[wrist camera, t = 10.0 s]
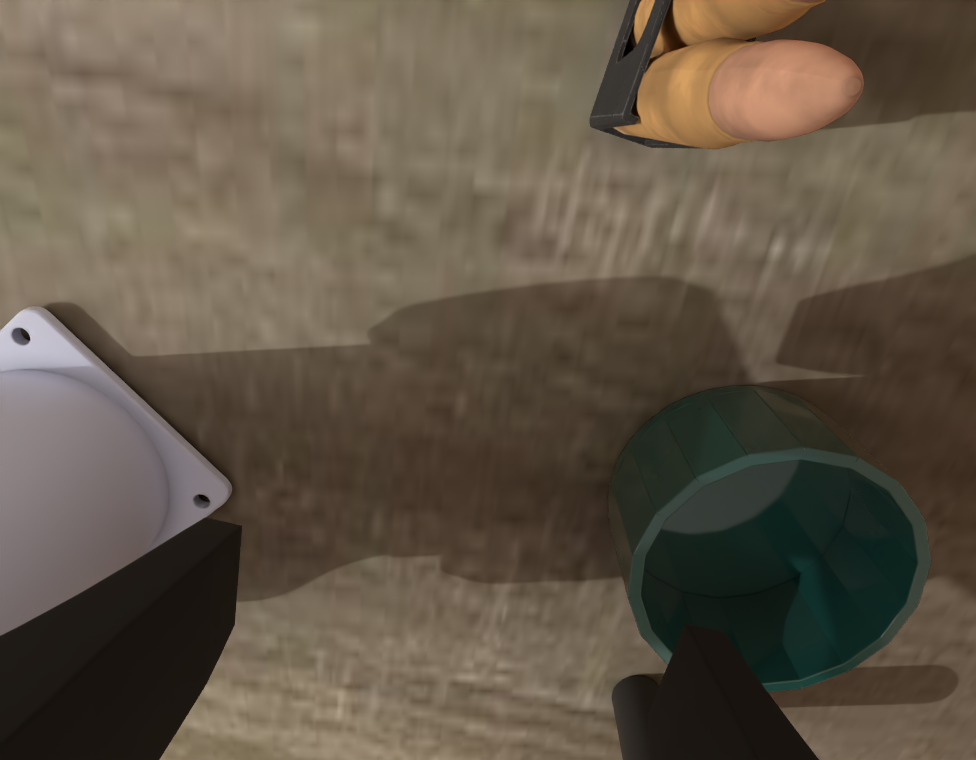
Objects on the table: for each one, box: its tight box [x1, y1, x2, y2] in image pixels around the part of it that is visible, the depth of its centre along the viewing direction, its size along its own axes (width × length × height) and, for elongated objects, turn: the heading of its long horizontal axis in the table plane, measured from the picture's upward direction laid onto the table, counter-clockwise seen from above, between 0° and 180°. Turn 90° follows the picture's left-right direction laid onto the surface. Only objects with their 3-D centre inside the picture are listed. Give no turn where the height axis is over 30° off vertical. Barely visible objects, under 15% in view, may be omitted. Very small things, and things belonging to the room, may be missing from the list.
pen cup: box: [608, 385, 931, 692], centre depth 20 cm, size 8×8×4 cm
